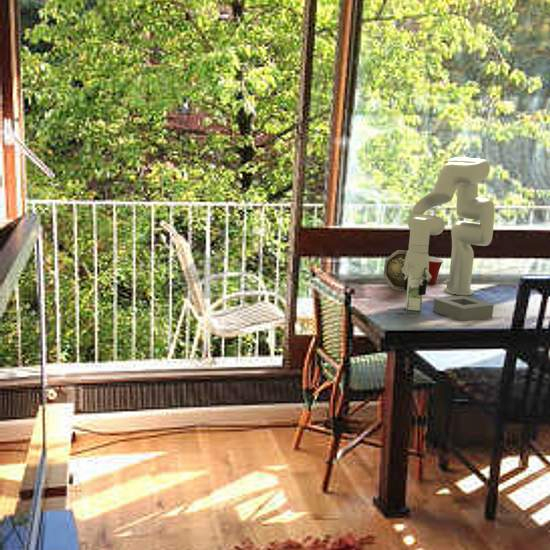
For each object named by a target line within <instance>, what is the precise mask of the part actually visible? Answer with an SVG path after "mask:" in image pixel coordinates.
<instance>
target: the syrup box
mask: <svg viewBox="0 0 550 550" xmlns="http://www.w3.org/2000/svg"><path fill="white" fill-rule="evenodd" d="M422 277H424V276H422ZM422 281H424V279H422ZM419 285H420V281H419V279H415V278H413V275H411V274H409V276H408V284H407V291H406V298H405V310H406V311H409V312H410V311H412V312H413V311H414V312H422V311H421V310H422V303H423V302H422V301H423V295H419V294H418V293H419Z"/></svg>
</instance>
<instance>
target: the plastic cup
mask: <svg viewBox="0 0 550 550" xmlns="http://www.w3.org/2000/svg"><path fill="white" fill-rule="evenodd" d="M443 262H444V259H442V258H439V257H435V256H429V273H430V275H431V276H432V278H431V280H430V282H429V283H428V285H433V286H434V285H436V283H437V279H438V276H439V273H440V269H441V266H442V264H443Z"/></svg>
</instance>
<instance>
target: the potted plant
mask: <svg viewBox="0 0 550 550" xmlns="http://www.w3.org/2000/svg"><path fill="white" fill-rule="evenodd" d="M407 251H408V250H400V249H398V250H396V251H394V252H393V253H391V255H389V256H388V257H386V258H385V260H384V265H383V278H384V280H385V281H386V283H388V286H390V287H391V288H392V289H393V290H396V291H402V290H403V292H407V290H404V284H405V280H404V276H403V273H402V268H403V267H404V263H405V257H406V254H407Z"/></svg>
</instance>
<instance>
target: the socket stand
mask: <svg viewBox="0 0 550 550" xmlns="http://www.w3.org/2000/svg"><path fill="white" fill-rule="evenodd" d="M433 300H434V301H433V309H432V311H433V312H434V311H435V313H438V314H440V315H443V316H446V317H449V318H452V319H454V320H457V321H460V322H468V321H474V320H483V319H488V318H490V319H491V318H493V316H494V315H493V314H494V304H491V303H489V302H486V301H483V300H480V299H477V298H472V297H470V296H468V295H455V296H450V297H449V296H448V297H438V298H434V299H433Z"/></svg>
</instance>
